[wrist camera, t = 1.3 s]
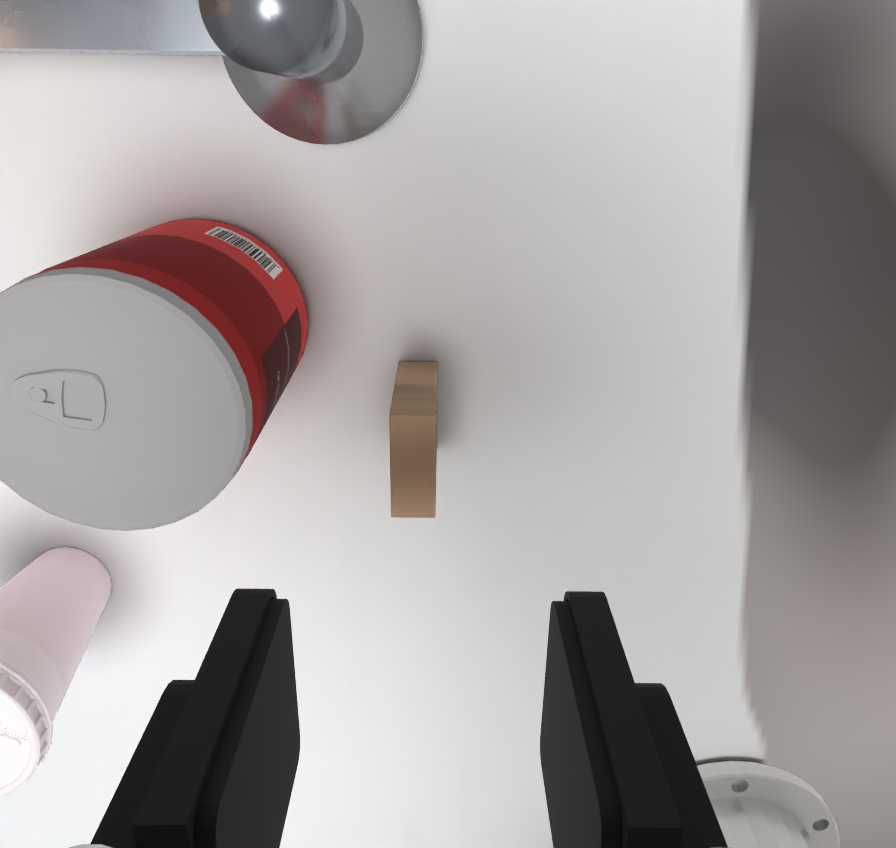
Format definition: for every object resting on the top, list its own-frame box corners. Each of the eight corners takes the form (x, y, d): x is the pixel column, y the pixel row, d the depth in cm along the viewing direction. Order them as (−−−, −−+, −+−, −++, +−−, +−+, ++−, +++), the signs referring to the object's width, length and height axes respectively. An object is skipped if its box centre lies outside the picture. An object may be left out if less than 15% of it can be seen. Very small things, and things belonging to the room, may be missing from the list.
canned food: (91, 224, 29) (-95, 286, 19) (295, 205, 29) (216, 257, 19) (139, 407, 32) (0, 544, 22) (325, 391, 32) (270, 523, 22)
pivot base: (423, 144, 28) (422, 145, 27) (235, 141, 28) (228, 142, 27) (423, -77, 26) (422, -83, 25) (215, -80, 26) (207, -87, 25)
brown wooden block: (436, 449, 33) (435, 517, 28) (399, 448, 33) (391, 517, 28) (437, 361, 32) (436, 415, 26) (398, 361, 32) (389, 415, 26)
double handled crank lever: (-129, 76, 26) (-595, 50, 14) (-154, -24, 25) (-683, -141, 13) (364, 83, 26) (301, 64, 15) (361, -16, 25) (290, -124, 13)
